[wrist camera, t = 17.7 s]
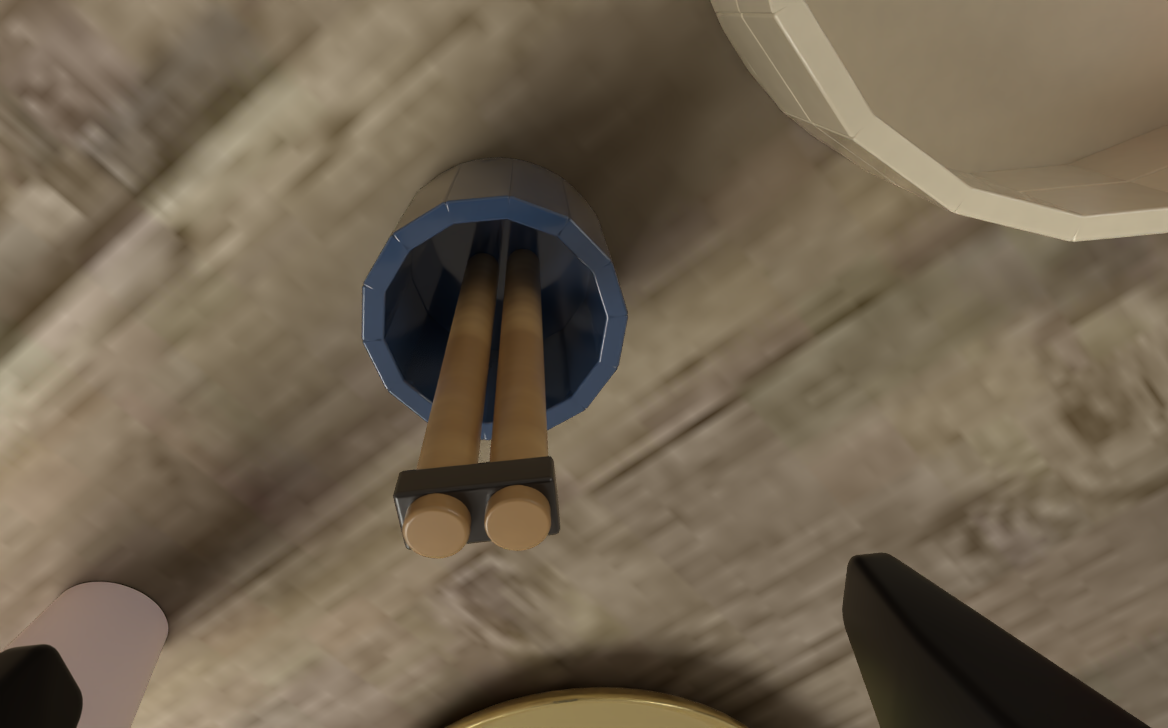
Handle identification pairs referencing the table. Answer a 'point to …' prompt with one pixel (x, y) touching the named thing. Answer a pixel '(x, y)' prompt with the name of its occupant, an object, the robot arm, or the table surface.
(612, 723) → the serving platter
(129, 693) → the smoothie
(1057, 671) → the robot arm
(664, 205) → the table surface
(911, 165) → the bowl
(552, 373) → the holder
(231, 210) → the table surface
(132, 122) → the table surface
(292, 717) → the table surface
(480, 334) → the chopsticks
